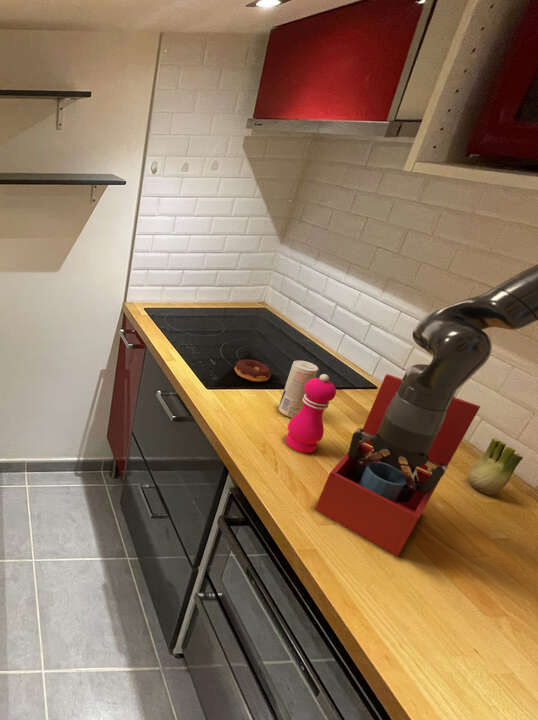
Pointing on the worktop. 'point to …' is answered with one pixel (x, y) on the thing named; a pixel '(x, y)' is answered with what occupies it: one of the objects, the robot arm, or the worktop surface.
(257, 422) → the worktop surface
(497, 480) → the fennel bulb
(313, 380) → the pepper mill
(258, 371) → the donut
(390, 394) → the cooler lid
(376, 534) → the cooler
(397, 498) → the cup
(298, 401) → the beverage can
